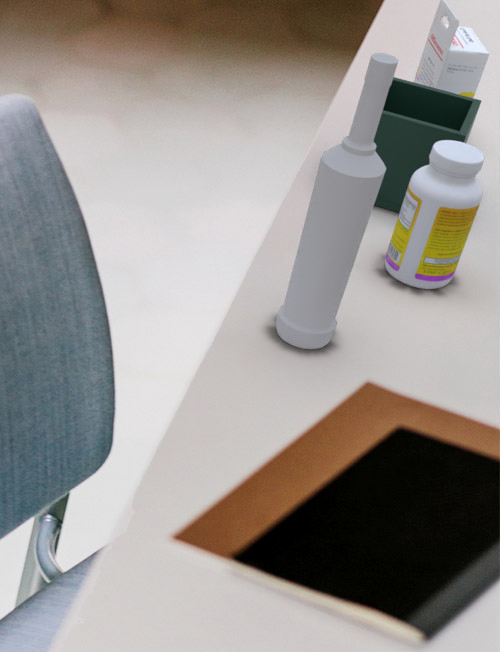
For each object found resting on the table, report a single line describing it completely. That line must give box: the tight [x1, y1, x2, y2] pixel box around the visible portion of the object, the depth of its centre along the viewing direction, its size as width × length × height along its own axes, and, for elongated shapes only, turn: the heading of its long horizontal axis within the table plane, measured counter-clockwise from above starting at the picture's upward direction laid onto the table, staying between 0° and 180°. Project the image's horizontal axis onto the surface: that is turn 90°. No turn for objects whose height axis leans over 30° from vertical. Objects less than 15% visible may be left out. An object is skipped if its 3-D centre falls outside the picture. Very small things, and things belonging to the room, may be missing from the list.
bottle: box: [275, 52, 399, 350], centre depth 97 cm, size 5×5×25 cm
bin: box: [374, 76, 482, 213], centre depth 126 cm, size 11×11×10 cm
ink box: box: [413, 0, 490, 99], centre depth 137 cm, size 9×5×15 cm, turn 179°
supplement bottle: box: [384, 140, 486, 290], centre depth 112 cm, size 7×7×13 cm
